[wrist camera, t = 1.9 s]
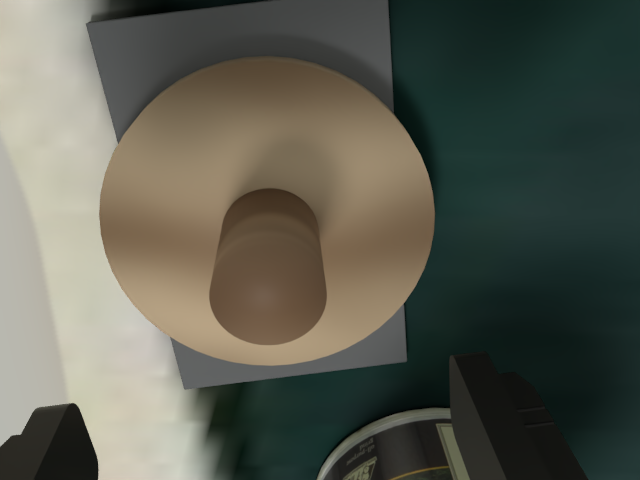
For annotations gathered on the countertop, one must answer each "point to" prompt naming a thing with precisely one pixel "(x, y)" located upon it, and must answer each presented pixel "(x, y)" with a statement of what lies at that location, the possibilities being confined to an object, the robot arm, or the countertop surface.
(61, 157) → the countertop surface
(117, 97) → the mat
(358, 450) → the coffee can
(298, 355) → the lid
